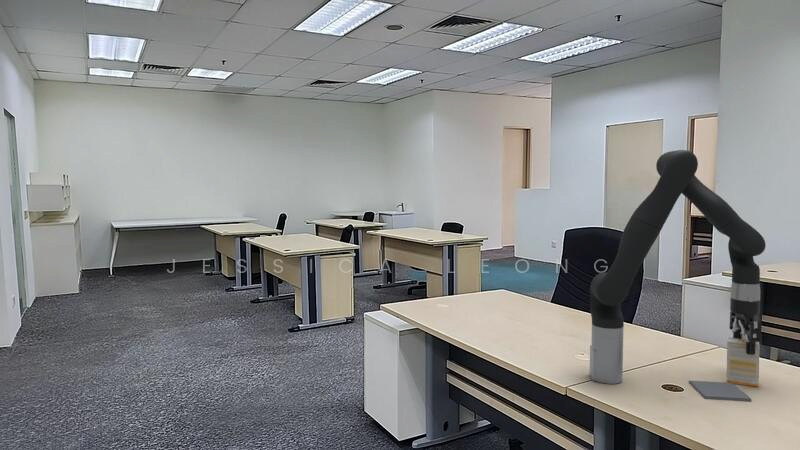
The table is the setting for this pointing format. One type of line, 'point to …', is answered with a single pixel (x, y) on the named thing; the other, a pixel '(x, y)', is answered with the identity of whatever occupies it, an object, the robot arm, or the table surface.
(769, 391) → the table surface
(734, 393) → the rubber mat
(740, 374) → the supplement box
